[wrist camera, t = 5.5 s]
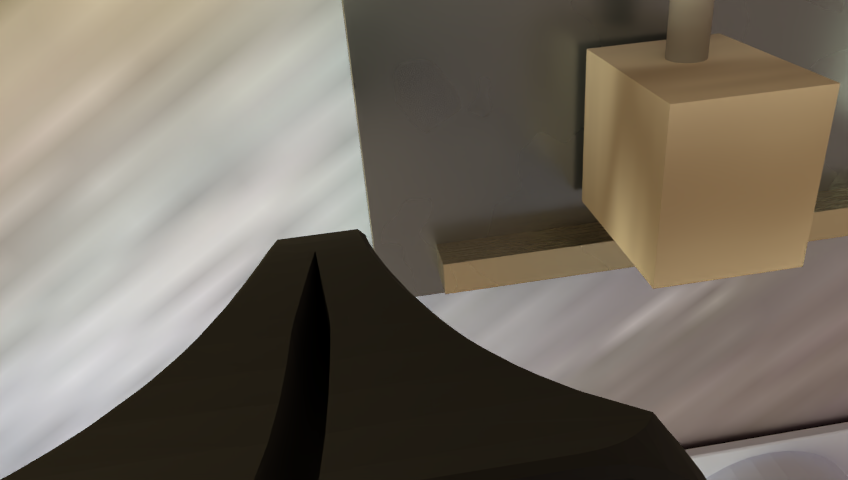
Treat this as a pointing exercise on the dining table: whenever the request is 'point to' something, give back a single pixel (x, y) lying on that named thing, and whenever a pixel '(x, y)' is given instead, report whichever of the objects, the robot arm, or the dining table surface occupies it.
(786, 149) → the slider
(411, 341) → the robot arm
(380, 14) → the bolt plate
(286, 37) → the dining table surface
